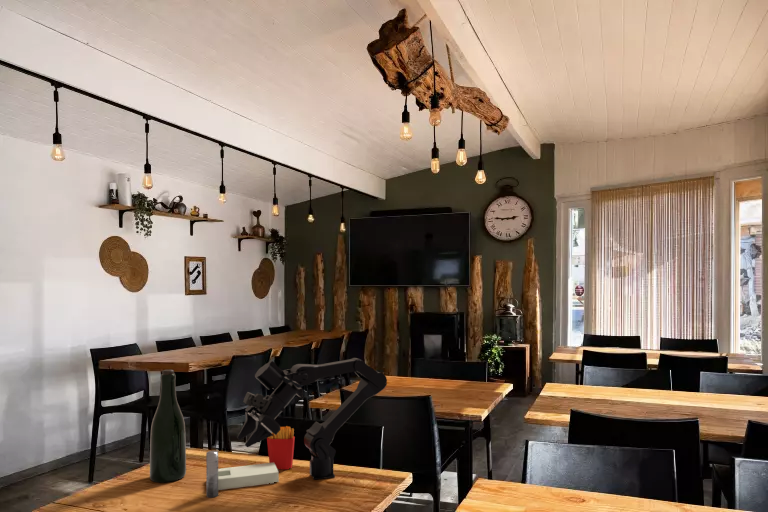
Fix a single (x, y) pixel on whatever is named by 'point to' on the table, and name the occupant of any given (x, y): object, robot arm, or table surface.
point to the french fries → (281, 448)
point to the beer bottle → (167, 435)
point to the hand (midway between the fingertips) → (242, 442)
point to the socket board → (247, 475)
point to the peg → (212, 474)
